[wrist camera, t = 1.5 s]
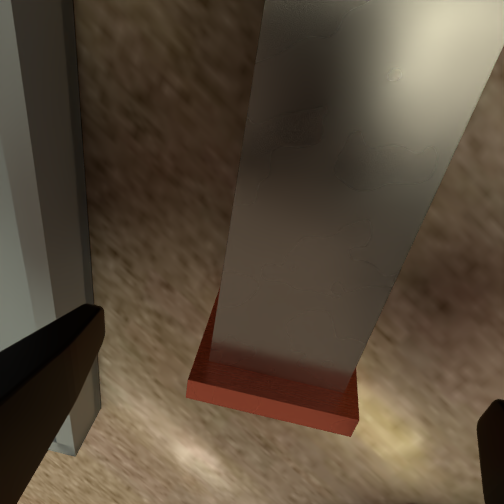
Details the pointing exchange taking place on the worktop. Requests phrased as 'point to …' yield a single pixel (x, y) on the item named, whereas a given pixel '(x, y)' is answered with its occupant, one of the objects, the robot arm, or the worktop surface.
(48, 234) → the tray
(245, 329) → the red capped grey bar
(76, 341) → the robot arm
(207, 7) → the worktop surface
